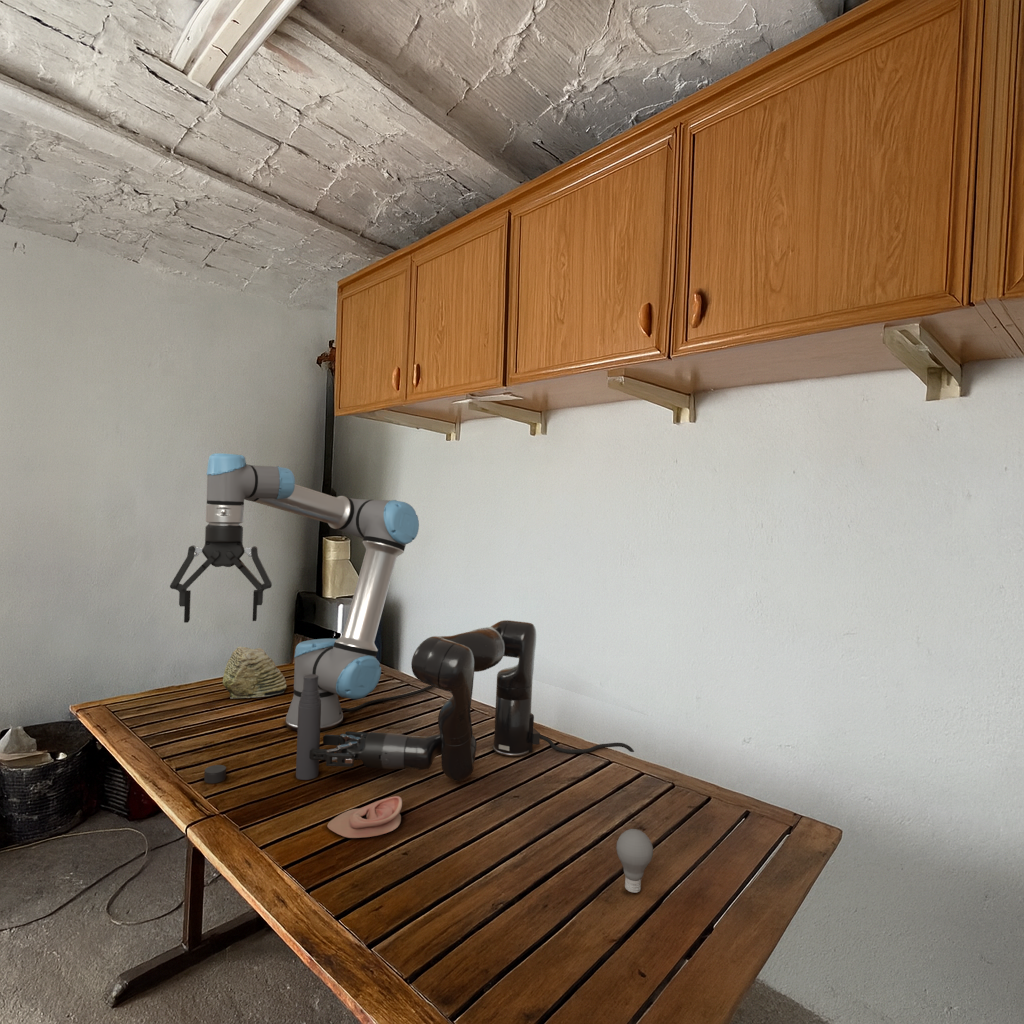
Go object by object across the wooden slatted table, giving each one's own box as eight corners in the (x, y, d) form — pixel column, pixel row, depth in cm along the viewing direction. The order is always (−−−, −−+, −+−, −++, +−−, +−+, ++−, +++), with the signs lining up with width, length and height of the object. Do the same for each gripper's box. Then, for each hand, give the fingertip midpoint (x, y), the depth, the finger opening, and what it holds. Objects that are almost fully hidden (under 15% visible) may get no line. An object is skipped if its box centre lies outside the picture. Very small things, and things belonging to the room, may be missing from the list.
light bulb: (610, 879, 108) (613, 822, 108) (644, 879, 109) (647, 822, 109) (619, 902, 102) (622, 840, 102) (655, 901, 103) (658, 840, 103)
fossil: (218, 695, 195) (220, 647, 195) (278, 685, 208) (279, 640, 207) (228, 703, 189) (230, 653, 188) (289, 692, 201) (290, 645, 201)
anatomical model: (320, 812, 119) (347, 786, 130) (319, 833, 119) (347, 805, 130) (386, 822, 116) (408, 795, 127) (385, 844, 116) (408, 814, 128)
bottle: (302, 782, 140) (306, 680, 140) (291, 774, 144) (295, 675, 143) (322, 775, 144) (326, 676, 143) (311, 768, 147) (315, 671, 147)
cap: (230, 776, 141) (230, 766, 141) (216, 784, 137) (216, 774, 137) (214, 773, 142) (214, 763, 142) (199, 781, 138) (200, 771, 138)
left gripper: (157, 523, 131) (153, 625, 132) (285, 526, 140) (281, 622, 140) (163, 521, 138) (160, 618, 139) (284, 524, 147) (281, 616, 147)
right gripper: (395, 723, 150) (328, 719, 151) (380, 746, 136) (305, 741, 137) (394, 754, 150) (326, 750, 151) (378, 781, 136) (304, 776, 137)
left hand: (221, 620), depth 139 cm, fingers open, 13 cm apart
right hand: (316, 746), depth 144 cm, fingers open, 8 cm apart
